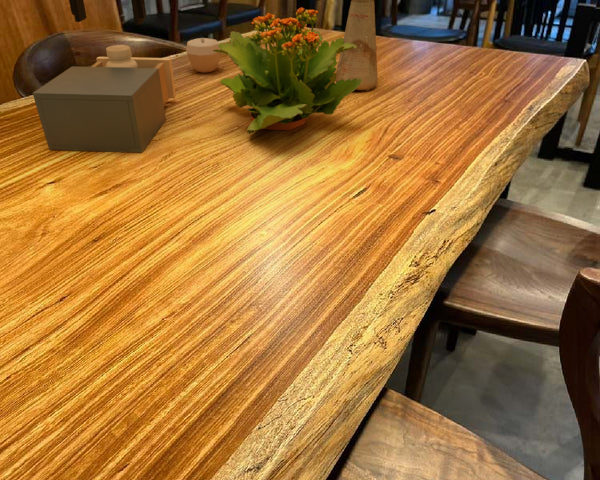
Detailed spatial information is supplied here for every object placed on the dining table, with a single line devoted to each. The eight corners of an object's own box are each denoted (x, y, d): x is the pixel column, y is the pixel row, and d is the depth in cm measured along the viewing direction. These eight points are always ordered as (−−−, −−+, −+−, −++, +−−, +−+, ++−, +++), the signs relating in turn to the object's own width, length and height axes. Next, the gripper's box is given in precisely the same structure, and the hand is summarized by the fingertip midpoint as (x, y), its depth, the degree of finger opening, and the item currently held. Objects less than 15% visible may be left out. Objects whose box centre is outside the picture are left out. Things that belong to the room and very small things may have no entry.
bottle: (329, 90, 108) (336, -80, 91) (341, 78, 115) (349, -82, 97) (371, 95, 106) (386, -79, 89) (380, 82, 112) (396, -81, 95)
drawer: (114, 88, 105) (106, 50, 101) (181, 89, 105) (176, 52, 100) (79, 119, 91) (69, 77, 87) (157, 121, 91) (150, 79, 86)
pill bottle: (135, 95, 98) (126, 42, 93) (148, 102, 95) (140, 48, 90) (108, 100, 95) (96, 46, 90) (120, 108, 92) (109, 53, 87)
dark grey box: (84, 117, 94) (71, 66, 89) (166, 120, 94) (158, 68, 88) (49, 150, 83) (32, 92, 77) (142, 152, 82) (131, 95, 77)
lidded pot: (217, 76, 115) (214, 43, 111) (182, 74, 116) (178, 42, 112) (227, 66, 121) (225, 35, 117) (194, 65, 122) (190, 33, 118)
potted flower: (181, 118, 94) (167, 6, 84) (279, 90, 108) (277, -10, 97) (279, 159, 81) (277, 31, 70) (377, 121, 94) (387, 9, 83)
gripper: (155, -108, 80) (168, 19, 90) (40, -113, 80) (67, 15, 90) (140, -109, 74) (156, 28, 84) (16, -113, 74) (48, 23, 84)
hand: (110, 21), depth 87 cm, fingers open, 9 cm apart
